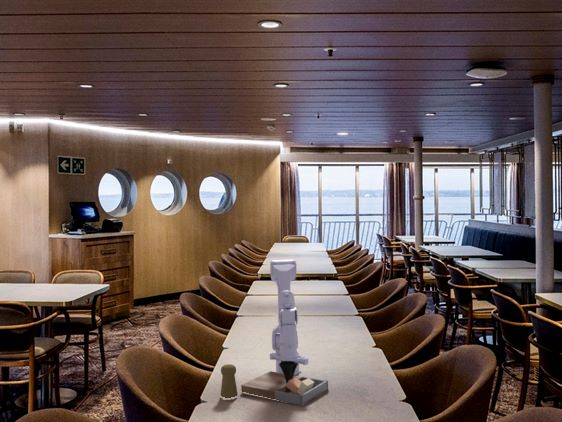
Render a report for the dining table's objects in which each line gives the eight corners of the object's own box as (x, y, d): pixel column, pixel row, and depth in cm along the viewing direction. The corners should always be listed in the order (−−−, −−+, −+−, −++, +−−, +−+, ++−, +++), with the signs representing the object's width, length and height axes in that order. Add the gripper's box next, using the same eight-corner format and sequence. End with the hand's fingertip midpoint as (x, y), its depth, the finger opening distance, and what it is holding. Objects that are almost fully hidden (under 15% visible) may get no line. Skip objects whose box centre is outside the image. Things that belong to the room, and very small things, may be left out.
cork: (238, 394, 192) (237, 362, 192) (237, 400, 186) (236, 367, 186) (220, 394, 192) (220, 362, 192) (219, 400, 186) (218, 368, 186)
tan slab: (270, 379, 207) (270, 371, 207) (302, 385, 200) (302, 376, 200) (241, 393, 192) (241, 385, 192) (275, 400, 185) (274, 391, 185)
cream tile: (308, 377, 190) (314, 382, 189) (304, 388, 191) (309, 393, 190) (301, 381, 186) (307, 385, 185) (296, 392, 188) (302, 396, 186)
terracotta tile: (293, 383, 194) (295, 377, 193) (303, 390, 191) (305, 384, 191) (286, 386, 190) (288, 380, 189) (296, 394, 188) (298, 388, 187)
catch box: (302, 385, 200) (302, 376, 200) (328, 389, 194) (327, 380, 194) (275, 400, 185) (274, 391, 185) (301, 406, 179) (301, 396, 179)
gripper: (264, 343, 193) (265, 382, 193) (300, 348, 185) (301, 389, 185) (275, 339, 198) (276, 376, 199) (310, 343, 191) (311, 383, 191)
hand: (289, 382), depth 192 cm, fingers closed
